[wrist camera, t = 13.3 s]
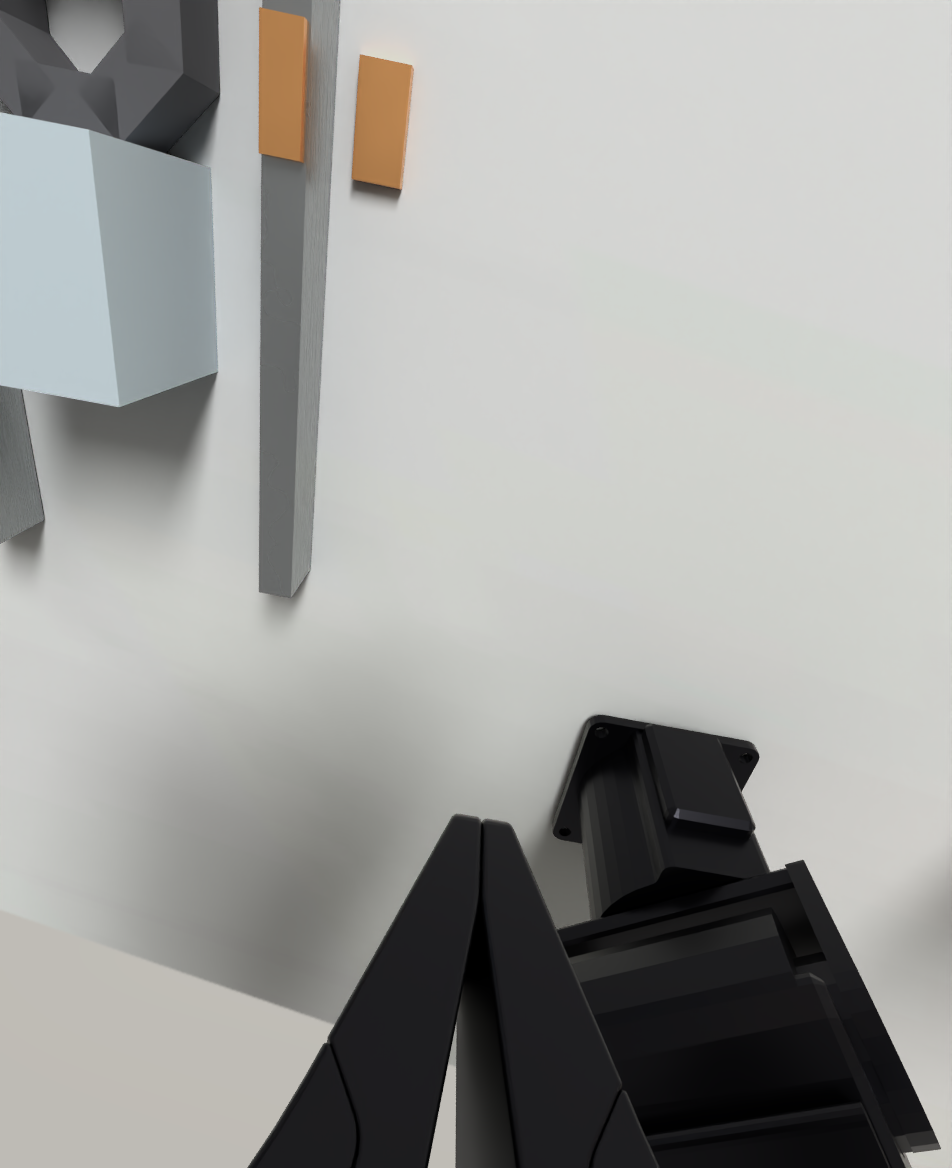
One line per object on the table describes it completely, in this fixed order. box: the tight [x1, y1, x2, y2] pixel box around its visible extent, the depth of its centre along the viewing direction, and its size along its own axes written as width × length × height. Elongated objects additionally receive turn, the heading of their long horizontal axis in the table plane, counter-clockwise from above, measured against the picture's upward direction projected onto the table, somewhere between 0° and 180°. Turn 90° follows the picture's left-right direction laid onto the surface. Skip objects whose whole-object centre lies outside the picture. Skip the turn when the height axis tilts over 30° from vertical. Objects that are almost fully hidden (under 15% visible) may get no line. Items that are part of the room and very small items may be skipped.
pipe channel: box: [0, 0, 414, 598], centre depth 15 cm, size 19×14×2 cm
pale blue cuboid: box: [0, 112, 218, 407], centre depth 14 cm, size 5×4×5 cm
